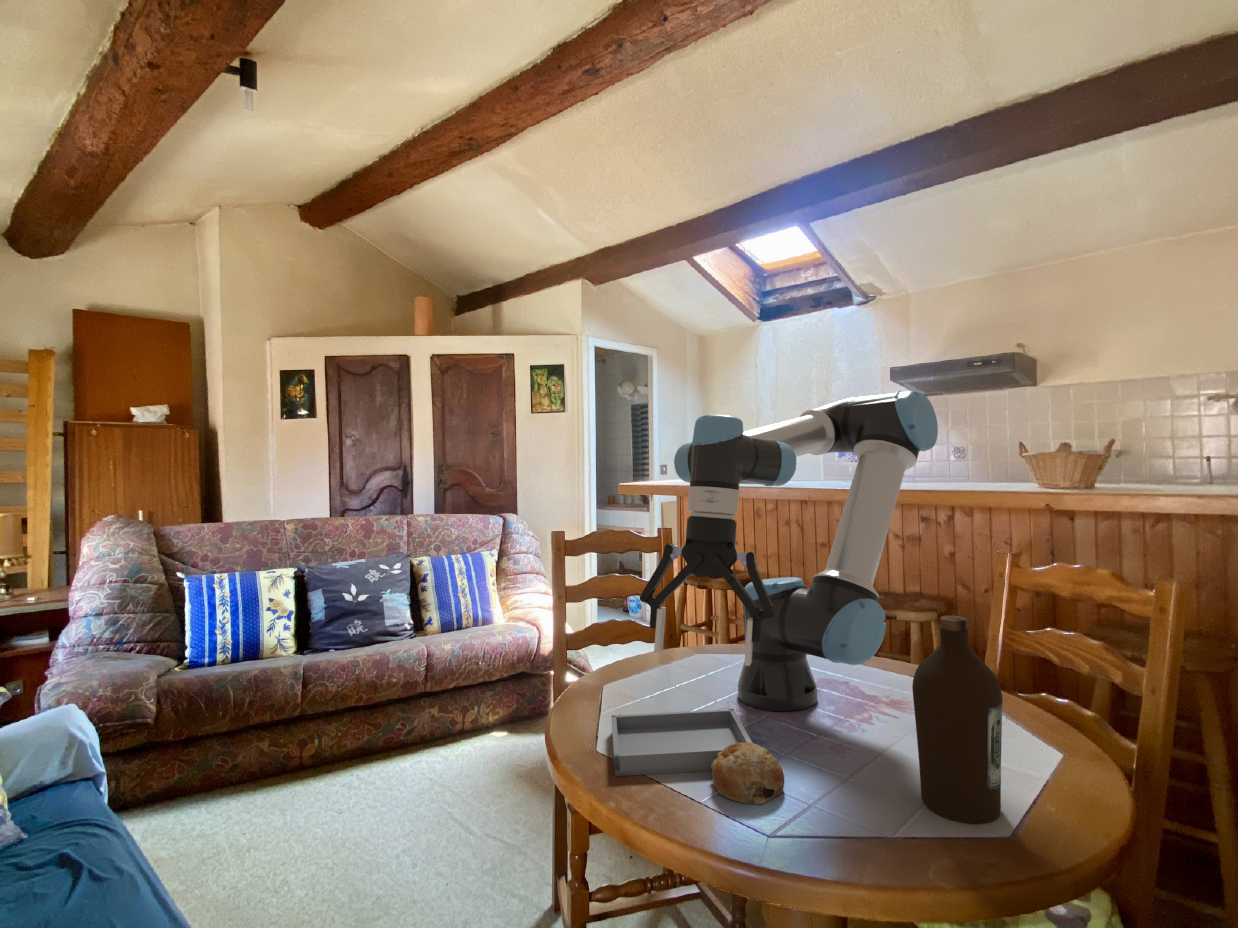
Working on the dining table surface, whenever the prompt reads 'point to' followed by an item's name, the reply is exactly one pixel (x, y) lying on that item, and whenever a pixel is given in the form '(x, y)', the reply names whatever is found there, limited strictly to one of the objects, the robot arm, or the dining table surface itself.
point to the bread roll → (747, 773)
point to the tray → (673, 740)
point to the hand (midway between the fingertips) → (702, 657)
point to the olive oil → (958, 729)
